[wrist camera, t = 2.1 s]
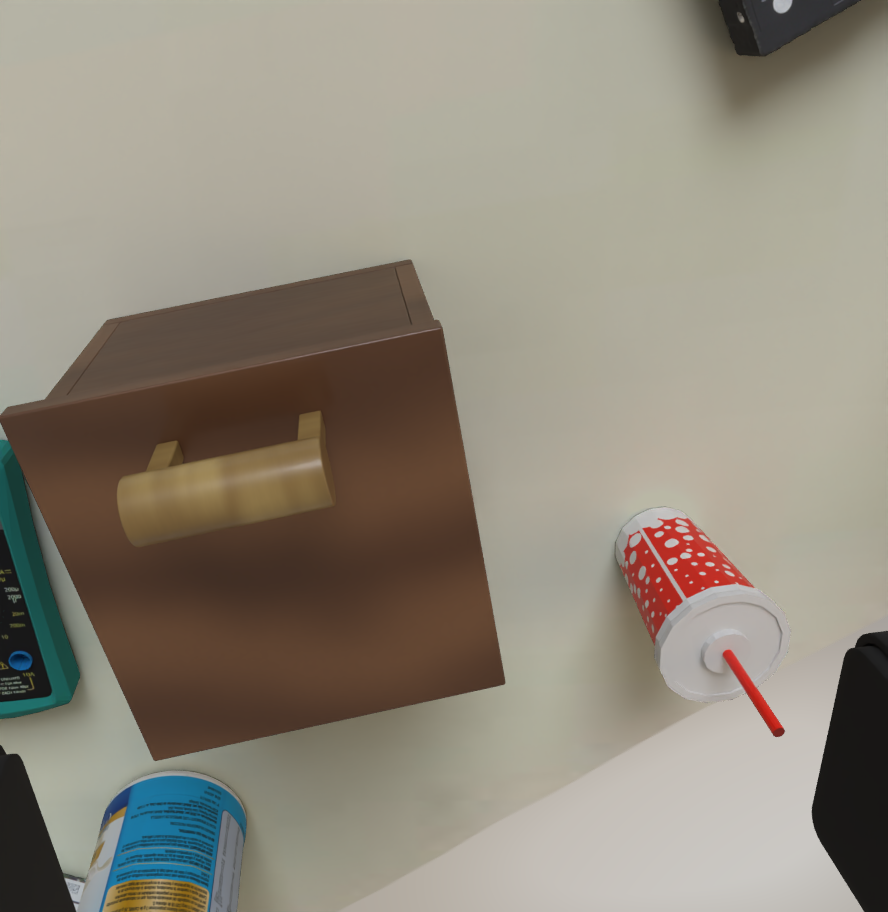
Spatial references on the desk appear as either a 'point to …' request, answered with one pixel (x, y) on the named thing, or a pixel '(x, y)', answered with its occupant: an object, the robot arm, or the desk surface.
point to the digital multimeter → (27, 610)
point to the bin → (248, 326)
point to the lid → (271, 536)
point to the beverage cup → (701, 612)
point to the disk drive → (775, 21)
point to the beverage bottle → (168, 847)
